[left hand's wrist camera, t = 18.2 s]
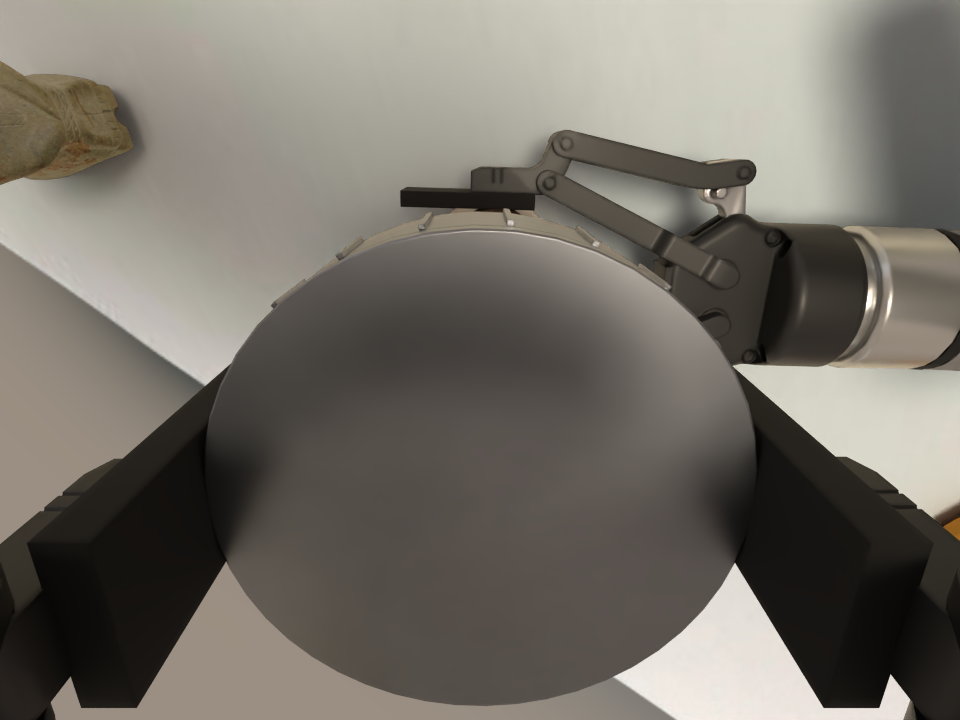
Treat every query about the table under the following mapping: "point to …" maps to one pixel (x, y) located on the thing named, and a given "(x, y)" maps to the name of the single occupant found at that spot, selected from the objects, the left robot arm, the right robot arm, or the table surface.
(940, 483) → the table surface
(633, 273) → the lid
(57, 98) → the sculpture
